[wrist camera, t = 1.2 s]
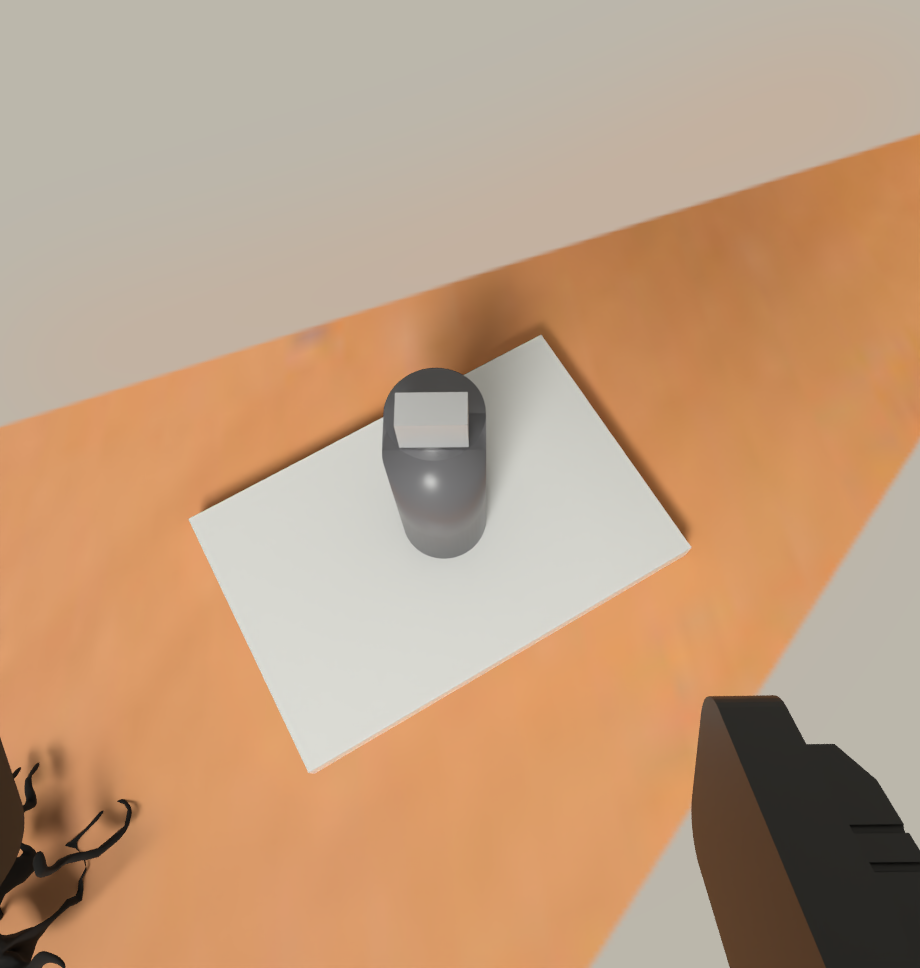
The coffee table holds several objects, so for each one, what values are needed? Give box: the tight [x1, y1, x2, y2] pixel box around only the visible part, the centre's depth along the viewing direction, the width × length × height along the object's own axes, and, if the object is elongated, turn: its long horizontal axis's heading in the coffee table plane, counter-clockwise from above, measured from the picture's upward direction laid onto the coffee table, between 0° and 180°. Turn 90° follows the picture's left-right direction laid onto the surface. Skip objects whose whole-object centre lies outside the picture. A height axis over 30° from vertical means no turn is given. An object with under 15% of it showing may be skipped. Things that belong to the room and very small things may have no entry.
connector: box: [382, 368, 486, 559], centre depth 31 cm, size 5×4×9 cm
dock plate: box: [189, 335, 691, 773], centre depth 35 cm, size 18×12×1 cm, turn 120°
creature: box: [0, 763, 132, 968], centre depth 30 cm, size 8×5×8 cm
